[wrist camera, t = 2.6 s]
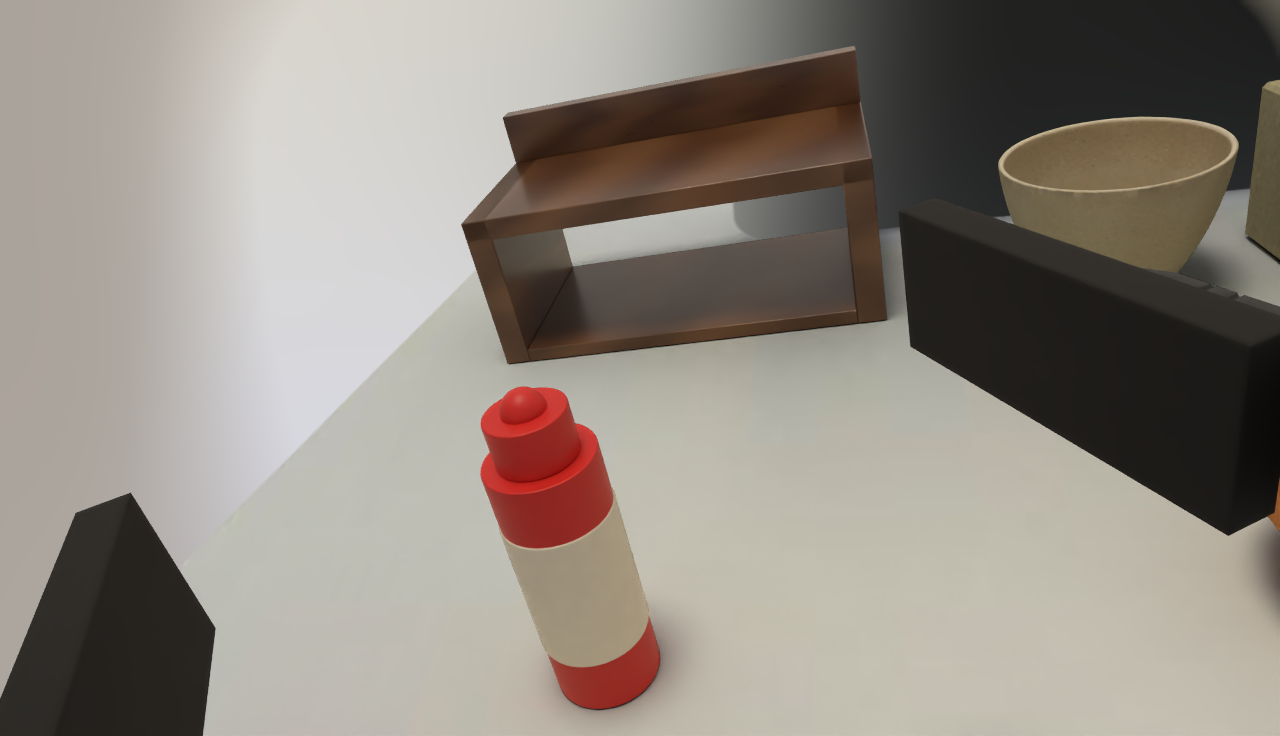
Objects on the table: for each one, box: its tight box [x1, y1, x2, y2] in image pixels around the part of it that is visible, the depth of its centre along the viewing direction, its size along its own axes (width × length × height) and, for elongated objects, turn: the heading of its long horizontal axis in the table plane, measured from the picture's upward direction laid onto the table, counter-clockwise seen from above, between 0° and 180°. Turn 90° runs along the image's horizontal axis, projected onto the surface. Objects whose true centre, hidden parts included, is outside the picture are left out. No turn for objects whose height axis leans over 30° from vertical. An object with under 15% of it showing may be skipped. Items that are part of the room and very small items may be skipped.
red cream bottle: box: [481, 387, 660, 709], centre depth 28 cm, size 4×4×11 cm
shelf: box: [461, 46, 887, 363], centre depth 52 cm, size 22×12×12 cm, turn 81°
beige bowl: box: [998, 117, 1238, 273], centre depth 43 cm, size 10×10×7 cm
